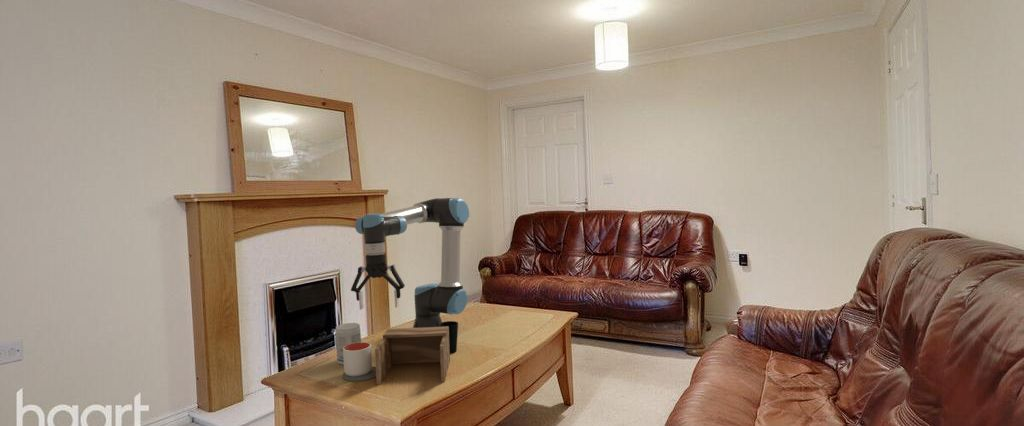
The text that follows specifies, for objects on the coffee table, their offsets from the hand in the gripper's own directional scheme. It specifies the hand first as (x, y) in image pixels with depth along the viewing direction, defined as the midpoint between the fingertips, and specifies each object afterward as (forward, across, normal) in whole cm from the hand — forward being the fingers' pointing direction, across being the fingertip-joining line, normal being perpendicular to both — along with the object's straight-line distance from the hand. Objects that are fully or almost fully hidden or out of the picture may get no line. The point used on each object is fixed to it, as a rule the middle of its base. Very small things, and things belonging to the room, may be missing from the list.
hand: (379, 307), depth 191 cm
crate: (+23, +14, -8) cm, 28 cm away
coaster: (+23, -6, -8) cm, 25 cm away
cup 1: (+22, -8, -8) cm, 25 cm away
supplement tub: (+24, -15, +7) cm, 29 cm away
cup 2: (+24, +25, +14) cm, 37 cm away
